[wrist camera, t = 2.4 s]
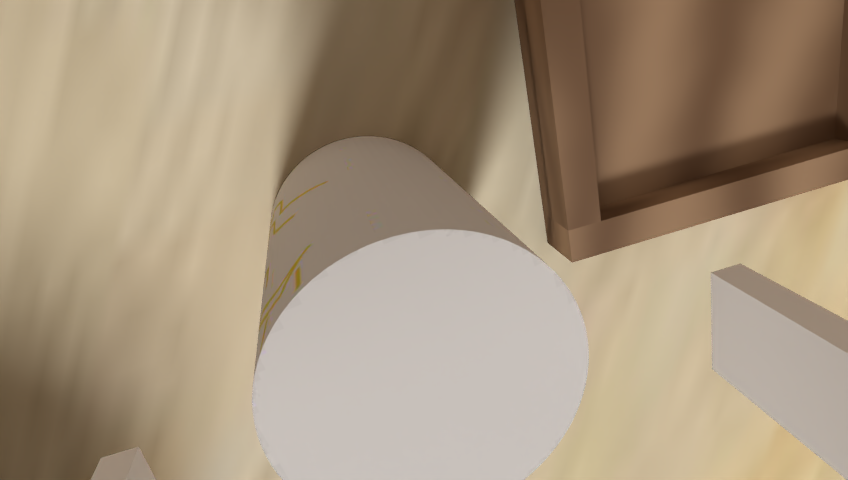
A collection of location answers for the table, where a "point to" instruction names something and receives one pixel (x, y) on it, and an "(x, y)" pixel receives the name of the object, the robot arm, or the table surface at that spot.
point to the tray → (679, 111)
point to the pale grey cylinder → (407, 328)
